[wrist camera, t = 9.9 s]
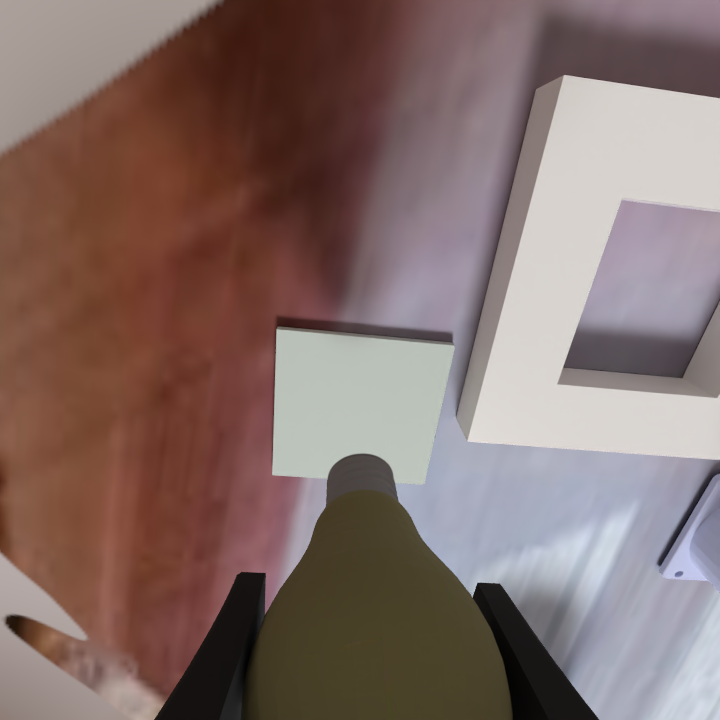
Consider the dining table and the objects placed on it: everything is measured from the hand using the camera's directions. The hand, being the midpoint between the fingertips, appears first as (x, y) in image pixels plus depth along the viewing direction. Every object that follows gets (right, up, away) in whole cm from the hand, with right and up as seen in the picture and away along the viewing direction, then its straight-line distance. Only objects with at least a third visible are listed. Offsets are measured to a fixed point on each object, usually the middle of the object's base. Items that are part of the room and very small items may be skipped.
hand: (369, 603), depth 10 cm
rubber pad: (0, +4, +9) cm, 10 cm away
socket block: (+12, +9, +7) cm, 17 cm away
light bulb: (0, +3, +5) cm, 5 cm away
